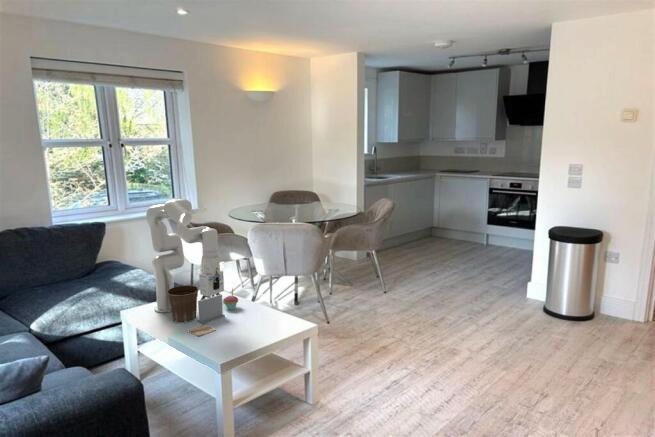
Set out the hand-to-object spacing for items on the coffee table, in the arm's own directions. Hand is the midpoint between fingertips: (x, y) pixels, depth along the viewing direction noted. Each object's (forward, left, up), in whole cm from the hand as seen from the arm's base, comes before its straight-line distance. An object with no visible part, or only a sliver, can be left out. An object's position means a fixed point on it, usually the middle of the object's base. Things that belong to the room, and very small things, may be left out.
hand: (211, 287), depth 230 cm
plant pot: (-22, -3, -22) cm, 31 cm away
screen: (-10, +6, -21) cm, 24 cm away
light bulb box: (0, 0, -3) cm, 3 cm away
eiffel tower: (-39, +25, -22) cm, 51 cm away
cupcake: (-16, +23, -22) cm, 35 cm away
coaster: (-1, -6, -21) cm, 22 cm away
